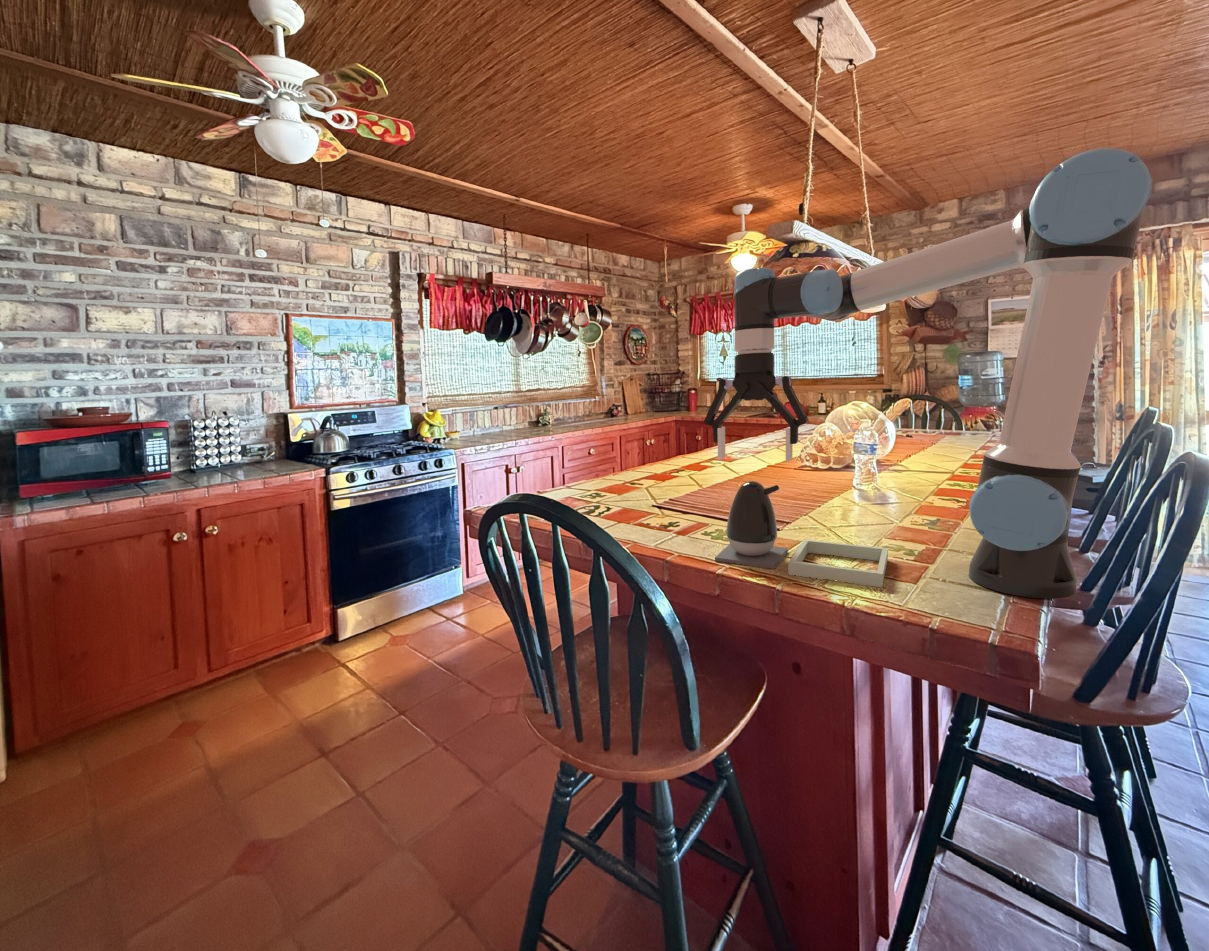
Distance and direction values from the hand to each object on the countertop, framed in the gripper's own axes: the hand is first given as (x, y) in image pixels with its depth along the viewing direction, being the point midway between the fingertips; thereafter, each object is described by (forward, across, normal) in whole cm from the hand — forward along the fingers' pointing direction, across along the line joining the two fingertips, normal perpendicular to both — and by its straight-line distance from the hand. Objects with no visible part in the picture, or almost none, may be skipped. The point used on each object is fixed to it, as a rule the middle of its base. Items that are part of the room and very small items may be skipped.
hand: (754, 459), depth 114 cm
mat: (+20, +1, 0) cm, 21 cm away
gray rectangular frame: (+21, -16, 0) cm, 26 cm away
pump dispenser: (+20, +1, 0) cm, 20 cm away
